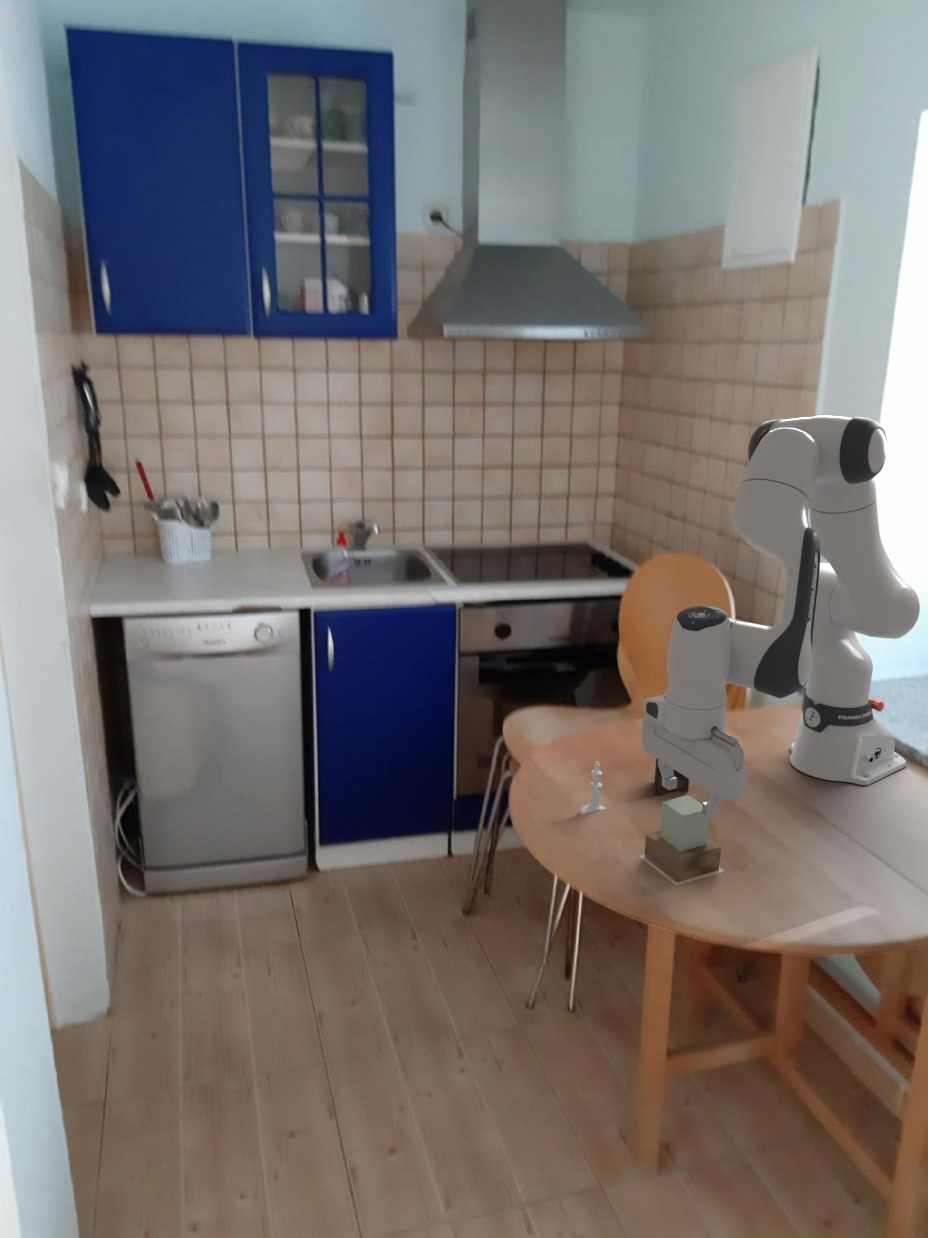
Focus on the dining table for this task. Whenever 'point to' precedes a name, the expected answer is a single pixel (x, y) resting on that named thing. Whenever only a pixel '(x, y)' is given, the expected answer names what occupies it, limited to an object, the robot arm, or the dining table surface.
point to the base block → (682, 858)
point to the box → (681, 786)
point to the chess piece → (594, 791)
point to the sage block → (684, 823)
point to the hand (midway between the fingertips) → (688, 800)
